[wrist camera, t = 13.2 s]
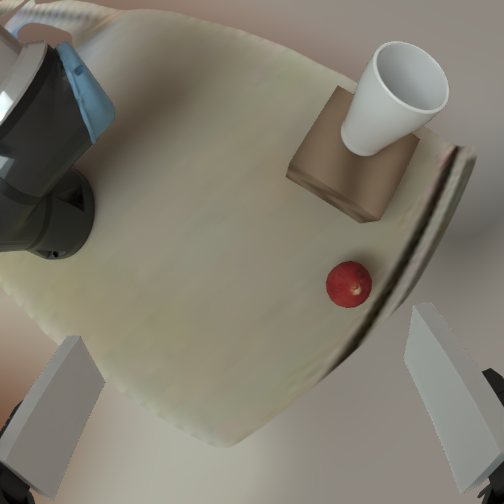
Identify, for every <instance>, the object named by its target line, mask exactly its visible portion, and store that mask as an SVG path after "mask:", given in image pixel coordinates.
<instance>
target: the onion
mask: <svg viewBox="0 0 504 504" xmlns="http://www.w3.org/2000/svg"><path fill="white" fill-rule="evenodd" d="M371 287H372V280H371V277H370V275H369V272H368V271H367V270H366V269H365V268H364V267H363V266H362V265H361V264H359V263H355V262H352V261H349V262H343V263H341V264H339V265H337V266H336V267H334V268H333V270H332V271H331V272H330V273H329V275H328V278H327V281H326V289H327V293H328V295H329V297H330V299H331V300H332V301H333V302H334V303H336V304H337V305H339V306H342V307H345V308H352V307H357V306H359V305H360V304H362V303H364V302H365V300H366V299H367V298H368V297H369V294H370V292H371Z"/></svg>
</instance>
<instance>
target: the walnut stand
mask: <svg viewBox="0 0 504 504" xmlns="http://www.w3.org/2000/svg"><path fill="white" fill-rule="evenodd" d="M353 96H354V94H352V93H350V92H348V91H347V90H345V89H343V88H342V87H340V86H337V88H336V89H335V91H334V92H333V94H332V96H331V97H330V99H329V100H328V102H327V103H326V105H325V107H324V108H323V110H322V111H321V113H320V115H319V116H318V118H317V119H316V121H315V123H314V124H313V126H312V127H311V129H310V131H309V132H308V134H307V136H306V137H305V139H304V140H303V142H302V144H301V145H300V147H299V148H298V150H297V152H296V153H295V155H294V157H293V158H292V160H291V161H290V163H289V167H288V171H287V174H286V177H287V178H289V179H290V180H292V181H294V182H295V183H297V184H299V185H300V186H302V187H304V188H305V189H307V190H309V191H310V192H312V193H313V194H315V195H317V196H318V197H320V198H321V199H323V200H325V201H326V202H328V203H329V204H331V205H333V206H334V207H336V208H337V209H339V210H340V211H342V212H343V213H345V214H346V215H348V216H350V217H351V218H353V219H354V220H356V221H357V222H359V223H365V222H372V221H378V220H380V219H381V217H382V215H383V213H384V211H385V209H386V208H387V206H388V204H389V202H390V200H391V198H392V196H393V194H394V192H395V190H396V188H397V186H398V184H399V182H400V180H401V178H402V176H403V174H404V172H405V170H406V168H407V166H408V164H409V162H410V159H411V157H412V155H413V153H414V151H415V149H416V147H417V144H418V142H419V140H420V139H419V138H417V137H416V136H415V135H413V134H412V133H410V134H408V135H406V136H405V137H403V138H401V139H399V140H397V141H395V142H394V143H392V144H390V145H388V146H387V147H385V148H383V149H382V150H380V151H379V152H378V153H376V154H374V155H372V156H360V155H357V154H355V153H353V152H352V151H350V150H349V149H348V148H347V147H346V146H345V144H344V142H343V140H342V138H341V125H342V123H343V121H344V119H345V118H346V115H347V113H348V110H349V107H350V105H351V102H352V99H353Z"/></svg>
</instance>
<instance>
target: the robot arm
mask: <svg viewBox="0 0 504 504" xmlns="http://www.w3.org/2000/svg"><path fill="white" fill-rule="evenodd" d="M114 117H115V108H114V106H113V104H112V102H111V101H110V99H109V98H108V96H107V95H106V93H105V92H104V90H103V89H102V88H101V86H100V85H99V83H98V82H97V80H96V79H95V78H94V76H93V75H92V73H91V72H90V71H89V69H88V68H87V66H86V65H85V63H84V62H83V61H82V59H81V58H80V56H79V55H78V54H77V52H76V51H75V50H74V49H73V47H72V46H71V45H70V43H69V42H67V41H64V42H62V43H61V44H57V46H56V47H55V49H53V48H52V47H51V46H50V45H48V44H47V43H46V42H45V41H44V40H36V41H32V42H26V43H23V42H20V41H19V40H18V39H17V38H16V37H14V36H13V35H12V34H11V33H10V32H8V31H7V30H6V29H5V28H4V27H3V26H1V25H0V252H8V251H21V250H26V251H28V252H31V253H33V254H35V255H37V256H39V257H42V258H44V259H49V260H55V259H63V258H67V257H69V256H71V255H73V254H74V253H76V252H77V251H78V250H79V249H80V248H81V246H82V245H83V244H84V242H85V241H86V239H87V237H88V235H89V232H90V230H91V226H92V222H93V216H94V200H93V195H92V191H91V188H90V186H89V184H88V182H87V180H86V179H85V177H84V176H83V175H82V174H81V173H80V172H78V171H77V170H75V169H72V168H71V166H72V165H73V164H74V163H75V162H76V161H77V160H78V159H79V158H80V157H81V156H82V155H83V154H84V152H85V151H86V150H87V149H88V148H89V147H90V146H91V145H94V144H95V143H96V140H97V139H98V137H99V136H100V135H101V134H102V133H103V132H104V131H105V130H106V129H107V128H108V127H109V126H110V125H111V124H112V122H113V120H114ZM403 360H404V362H405V364H406V366H407V368H408V370H409V372H410V374H411V376H412V378H413V380H414V383H415V385H416V387H417V389H418V391H419V393H420V396H421V398H422V400H423V402H424V404H425V407H426V409H427V411H428V413H429V416H430V418H431V420H432V423H433V425H434V427H435V430H436V432H437V435H438V437H439V439H440V442H441V444H442V447H443V449H444V452H445V454H446V457H447V459H448V462H449V464H450V467H451V470H452V473H453V476H454V478H455V481H456V484H457V487H458V490H459V492H460V494H463V493H465V492H467V491H469V490H471V489H473V488H475V487H477V486H479V485H480V484H482V483H483V482H484V481H485V480H486V479H487V478H489V480H490V484H489V485H488V486H487V487H486V488H484V489H483V490H482V491H481V492H480V493H479V495H478V498H480V497H482V496H483V495H484V494H485V496H484V499H483V501H482V504H504V379H503V377H502V376H501V375H499V374H498V373H497V372H495V371H494V370H493V369H491V368H490V369H487V370H485V371H482V372H481V370H480V369H479V367H478V366H477V364H476V363H475V362H474V360H473V359H472V357H471V356H470V354H469V353H468V351H467V350H466V348H465V347H464V346H463V344H462V343H461V341H460V340H459V339H458V337H457V336H456V335H455V333H454V332H453V330H452V329H451V328H450V326H449V325H448V324H447V322H446V321H445V320H444V318H443V317H442V316H441V314H440V313H439V312H438V310H437V309H436V308H435V307H434V305H433V304H432V303H431V302H427V303H421V304H417V305H414V306H413V311H412V317H411V323H410V329H409V334H408V339H407V344H406V349H405V353H404V358H403ZM104 384H105V380H104V378H103V377H102V375H101V373H100V372H99V370H98V368H97V366H96V364H95V363H94V361H93V359H92V357H91V355H90V353H89V352H88V350H87V348H86V346H85V344H84V342H83V340H82V338H81V336H67V337H66V338H65V340H64V341H63V343H62V344H61V345H60V347H59V348H58V350H57V351H56V352H55V354H54V355H53V357H52V358H51V359H50V361H49V362H48V364H47V365H46V367H45V368H44V370H43V371H42V373H41V374H40V376H39V377H38V378H37V380H36V382H35V383H34V385H33V386H32V388H31V389H30V391H29V392H28V394H27V395H26V397H25V399H24V400H22V401H21V402H20V403H19V404H18V405H17V406H16V407H15V408H14V410H13V411H12V413H11V415H10V416H9V417H10V418H9V419H8V420H7V421H6V423H5V426H3V428H2V430H1V431H0V504H35V501H34V498H33V496H32V493H31V492H30V491H29V489H30V487H31V488H32V489H33V490H35V491H36V492H37V493H39V494H40V495H42V496H44V497H47V498H49V499H51V500H54V499H55V496H56V494H57V491H58V489H59V486H60V484H61V481H62V479H63V476H64V474H65V471H66V469H67V466H68V464H69V461H70V459H71V457H72V454H73V452H74V450H75V447H76V445H77V442H78V440H79V438H80V436H81V434H82V431H83V429H84V427H85V425H86V422H87V420H88V418H89V416H90V414H91V412H92V409H93V407H94V405H95V403H96V401H97V399H98V397H99V394H100V392H101V390H102V388H103V386H104Z"/></svg>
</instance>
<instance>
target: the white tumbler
mask: <svg viewBox="0 0 504 504" xmlns="http://www.w3.org/2000/svg"><path fill="white" fill-rule="evenodd" d="M449 95H450V89H449V83H448V80H447V77H446V75H445V73H444V71H443V70H442V68H441V67H440V65H439V64H438V63H437V62H436V60H434V58H433V57H432V56H430V55H429V54H428V53H427V52H425V51H424V50H422V49H421V48H419V47H417V46H415V45H412V44H410V43H406V42H401V41H392V42H387V43H385V44H383V45H381V46H380V47H379V48H378V49H377V50H376V51H375V53H374V55H373V56H372V58H371V59H370V61H369V62H368V64H367V65H366V67H365V69H364V71H363V73H362V75H361V78H360V80H359V82H358V85H357V88H356V91H355V93H354V96H353V99H352V102H351V105H350V107H349V110H348V113H347V115H346V118H345V119H344V121H343V123H342V125H341V138H342V140H343V142H344V144H345V146H346V147H347V148H348V149H349V150H350V151H352V152H353V153H355V154H357V155H360V156H372V155H374V154H376V153H378V152H379V151H380V150H382V149H383V148H385V147H387V146H388V145H390V144H392V143H394V142H395V141H397V140H399V139H401V138H403V137H405V136H406V135H408V134H410V133H412V132H414V131H416V130H417V129H419V128H420V127H422V126H423V125H425V124H426V123H427V122H429V121H430V120H431V119H432V118H433V117H435V116H436V115H437V114H438V113H439V112H440V111H441V110H442V109H443V108H444V107H445V106H446V104H447V103H448V100H449Z"/></svg>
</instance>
